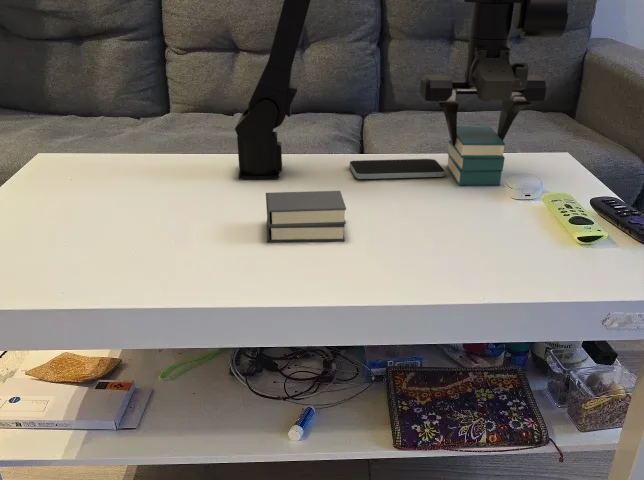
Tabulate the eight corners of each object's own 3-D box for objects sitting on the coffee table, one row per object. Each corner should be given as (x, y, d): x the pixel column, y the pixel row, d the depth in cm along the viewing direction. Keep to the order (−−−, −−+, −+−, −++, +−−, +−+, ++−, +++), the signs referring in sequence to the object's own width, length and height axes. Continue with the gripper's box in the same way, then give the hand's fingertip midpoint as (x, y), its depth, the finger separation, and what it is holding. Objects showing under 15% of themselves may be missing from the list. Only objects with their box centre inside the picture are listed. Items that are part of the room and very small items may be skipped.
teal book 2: (502, 171, 105) (504, 157, 104) (462, 172, 104) (463, 158, 103) (484, 153, 113) (486, 139, 112) (447, 153, 112) (448, 140, 111)
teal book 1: (450, 140, 111) (451, 126, 110) (489, 140, 111) (490, 126, 110) (461, 157, 103) (462, 143, 102) (502, 158, 103) (505, 143, 102)
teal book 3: (499, 185, 106) (501, 171, 105) (459, 185, 106) (460, 172, 104) (484, 166, 114) (486, 153, 113) (446, 166, 114) (448, 153, 112)
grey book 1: (267, 226, 85) (267, 210, 84) (266, 208, 90) (265, 192, 89) (345, 224, 86) (346, 207, 85) (339, 206, 91) (340, 190, 90)
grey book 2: (267, 242, 86) (266, 226, 85) (268, 223, 92) (267, 207, 90) (344, 241, 87) (344, 225, 86) (341, 222, 92) (341, 207, 91)
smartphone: (447, 172, 108) (356, 174, 106) (446, 177, 109) (356, 180, 107) (434, 158, 114) (348, 160, 112) (433, 163, 115) (348, 166, 113)
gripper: (437, 45, 91) (427, 160, 100) (570, 46, 92) (549, 159, 101) (423, 33, 100) (415, 140, 109) (544, 34, 101) (527, 139, 110)
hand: (476, 145), depth 107 cm, fingers open, 7 cm apart
